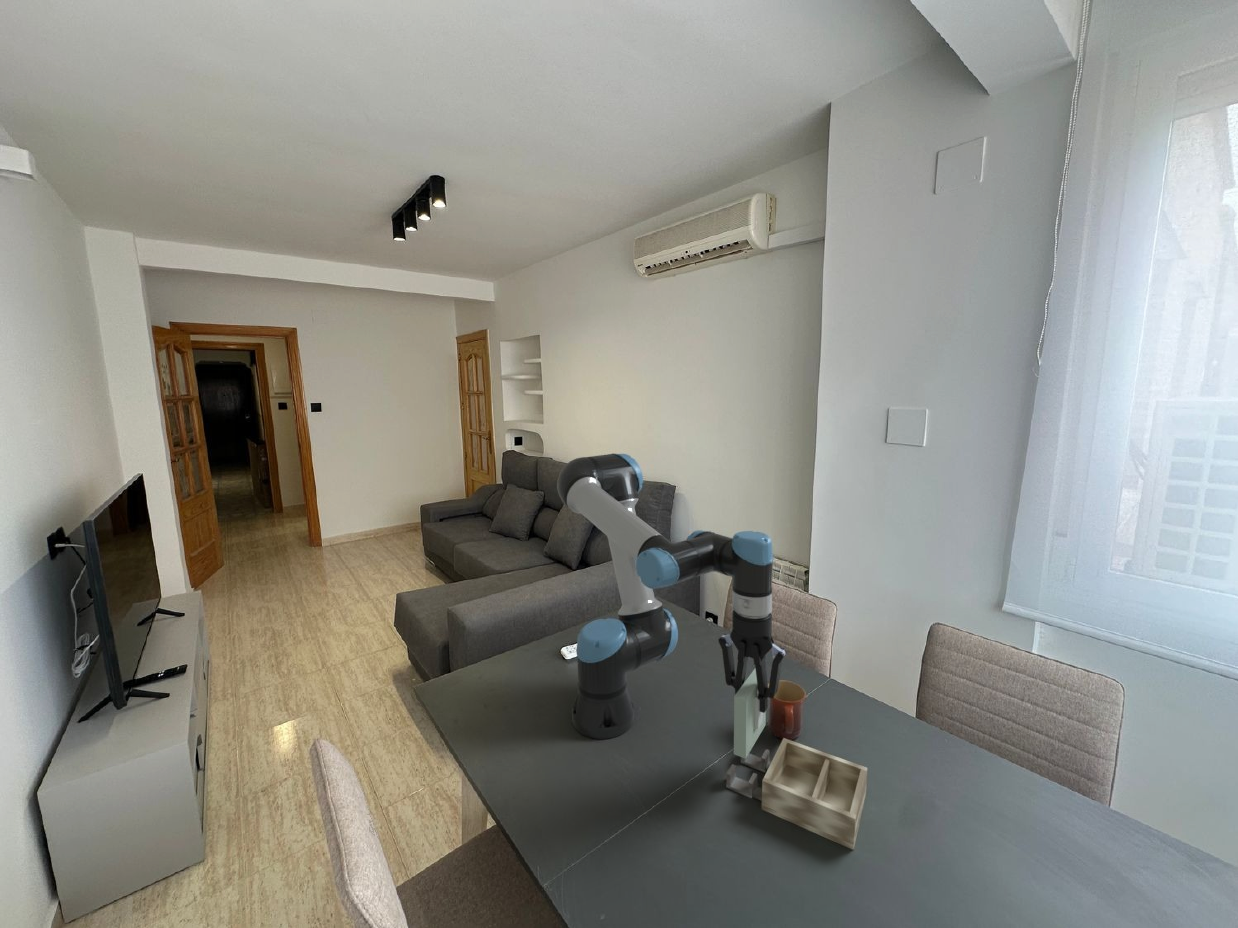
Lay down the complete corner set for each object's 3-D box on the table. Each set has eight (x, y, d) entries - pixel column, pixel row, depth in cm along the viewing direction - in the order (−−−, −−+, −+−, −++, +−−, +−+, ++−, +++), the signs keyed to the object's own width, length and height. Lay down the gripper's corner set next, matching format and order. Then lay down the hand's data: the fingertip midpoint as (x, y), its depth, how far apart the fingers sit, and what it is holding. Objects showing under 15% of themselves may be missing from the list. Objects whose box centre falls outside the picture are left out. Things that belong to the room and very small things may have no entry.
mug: (763, 717, 123) (764, 678, 121) (801, 721, 121) (802, 681, 119) (767, 751, 111) (768, 708, 109) (809, 756, 109) (811, 713, 108)
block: (730, 752, 99) (731, 695, 97) (751, 720, 108) (752, 667, 107) (745, 758, 97) (746, 699, 95) (765, 724, 107) (766, 671, 105)
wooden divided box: (723, 792, 100) (723, 764, 99) (747, 750, 112) (748, 725, 111) (853, 849, 87) (855, 818, 86) (865, 795, 99) (867, 767, 98)
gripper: (707, 609, 100) (707, 719, 104) (786, 627, 92) (784, 746, 95) (722, 596, 107) (721, 700, 110) (797, 612, 98) (795, 724, 101)
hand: (750, 721), depth 102 cm, fingers closed on block, 2 cm apart
